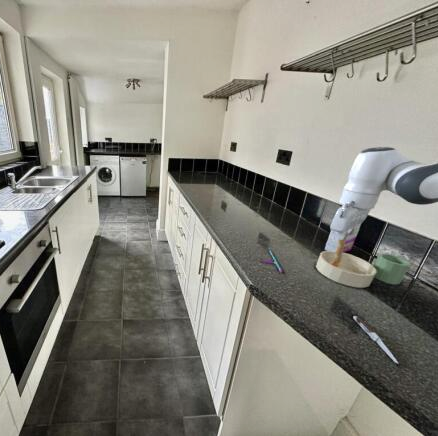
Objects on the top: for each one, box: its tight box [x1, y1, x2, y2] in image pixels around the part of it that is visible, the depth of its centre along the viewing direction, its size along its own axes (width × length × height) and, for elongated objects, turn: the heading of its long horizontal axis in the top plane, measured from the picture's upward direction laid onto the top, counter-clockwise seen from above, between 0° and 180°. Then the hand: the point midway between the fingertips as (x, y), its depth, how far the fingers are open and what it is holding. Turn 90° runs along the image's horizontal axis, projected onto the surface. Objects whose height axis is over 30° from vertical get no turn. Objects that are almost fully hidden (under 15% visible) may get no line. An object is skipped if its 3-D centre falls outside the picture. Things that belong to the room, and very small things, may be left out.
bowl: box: [315, 250, 377, 288], centre depth 80 cm, size 15×15×6 cm
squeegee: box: [262, 250, 283, 274], centre depth 88 cm, size 15×1×5 cm
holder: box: [372, 252, 412, 285], centre depth 79 cm, size 8×8×8 cm
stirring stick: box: [333, 231, 348, 267], centre depth 80 cm, size 2×2×18 cm
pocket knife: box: [352, 315, 400, 365], centre depth 56 cm, size 14×1×2 cm, turn 173°
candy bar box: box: [324, 222, 363, 253], centre depth 95 cm, size 11×5×16 cm, turn 114°
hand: (342, 238), depth 79 cm, fingers closed on stirring stick, 2 cm apart
